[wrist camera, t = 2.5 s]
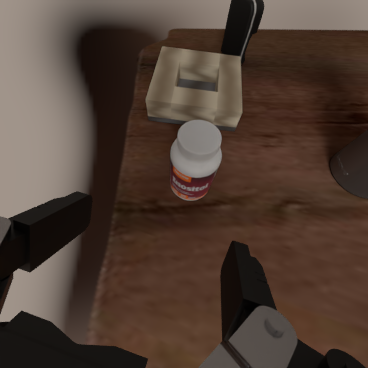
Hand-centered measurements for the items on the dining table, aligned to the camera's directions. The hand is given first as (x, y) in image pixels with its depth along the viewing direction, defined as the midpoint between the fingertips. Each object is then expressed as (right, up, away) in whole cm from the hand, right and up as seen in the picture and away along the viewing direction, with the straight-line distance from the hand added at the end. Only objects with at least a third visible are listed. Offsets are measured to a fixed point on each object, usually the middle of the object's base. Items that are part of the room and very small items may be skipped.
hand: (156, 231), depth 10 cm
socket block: (+4, +20, +28) cm, 35 cm away
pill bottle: (+2, +3, +19) cm, 20 cm away
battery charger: (+14, +33, +36) cm, 51 cm away
